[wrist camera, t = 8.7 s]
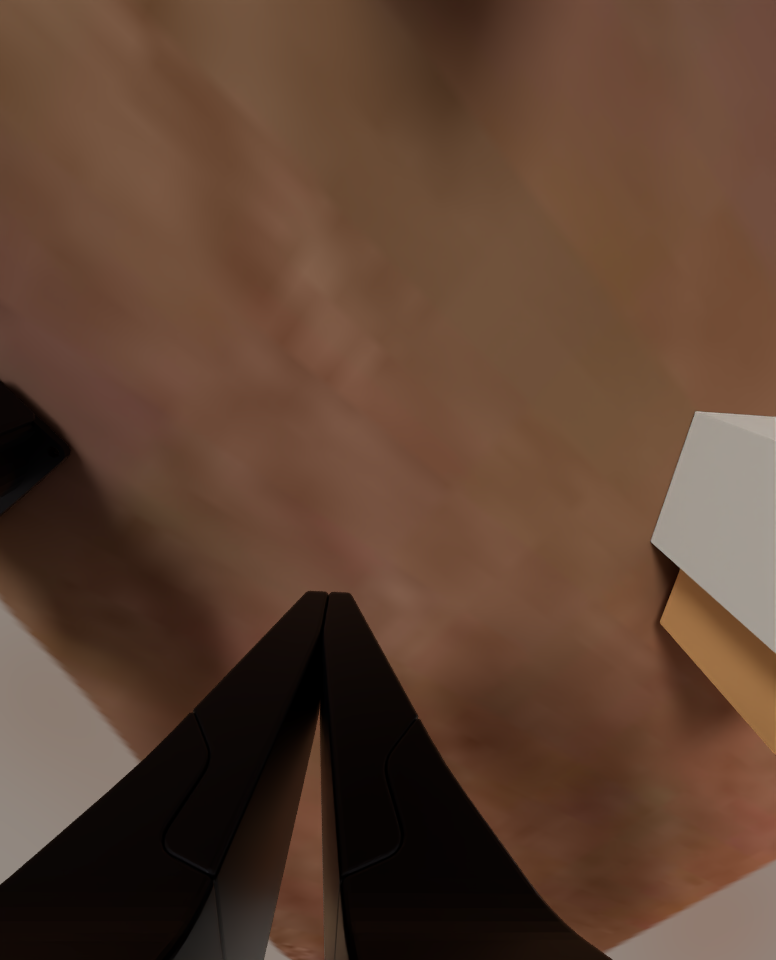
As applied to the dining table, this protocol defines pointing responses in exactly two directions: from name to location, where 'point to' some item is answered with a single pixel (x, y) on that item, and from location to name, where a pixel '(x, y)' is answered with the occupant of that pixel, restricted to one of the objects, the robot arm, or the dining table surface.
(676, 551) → the block
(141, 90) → the dining table surface
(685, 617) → the side door
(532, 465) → the dining table surface
